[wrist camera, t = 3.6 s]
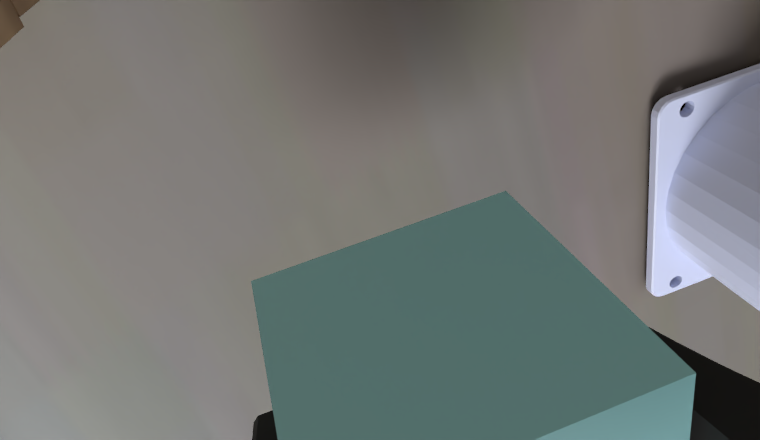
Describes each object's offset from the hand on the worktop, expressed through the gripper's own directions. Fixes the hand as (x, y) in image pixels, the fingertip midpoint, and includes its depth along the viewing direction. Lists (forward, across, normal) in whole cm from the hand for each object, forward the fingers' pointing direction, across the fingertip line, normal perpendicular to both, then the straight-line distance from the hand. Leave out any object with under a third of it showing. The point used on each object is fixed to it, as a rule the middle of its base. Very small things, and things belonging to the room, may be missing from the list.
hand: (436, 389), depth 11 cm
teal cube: (+2, 0, 0) cm, 2 cm away
